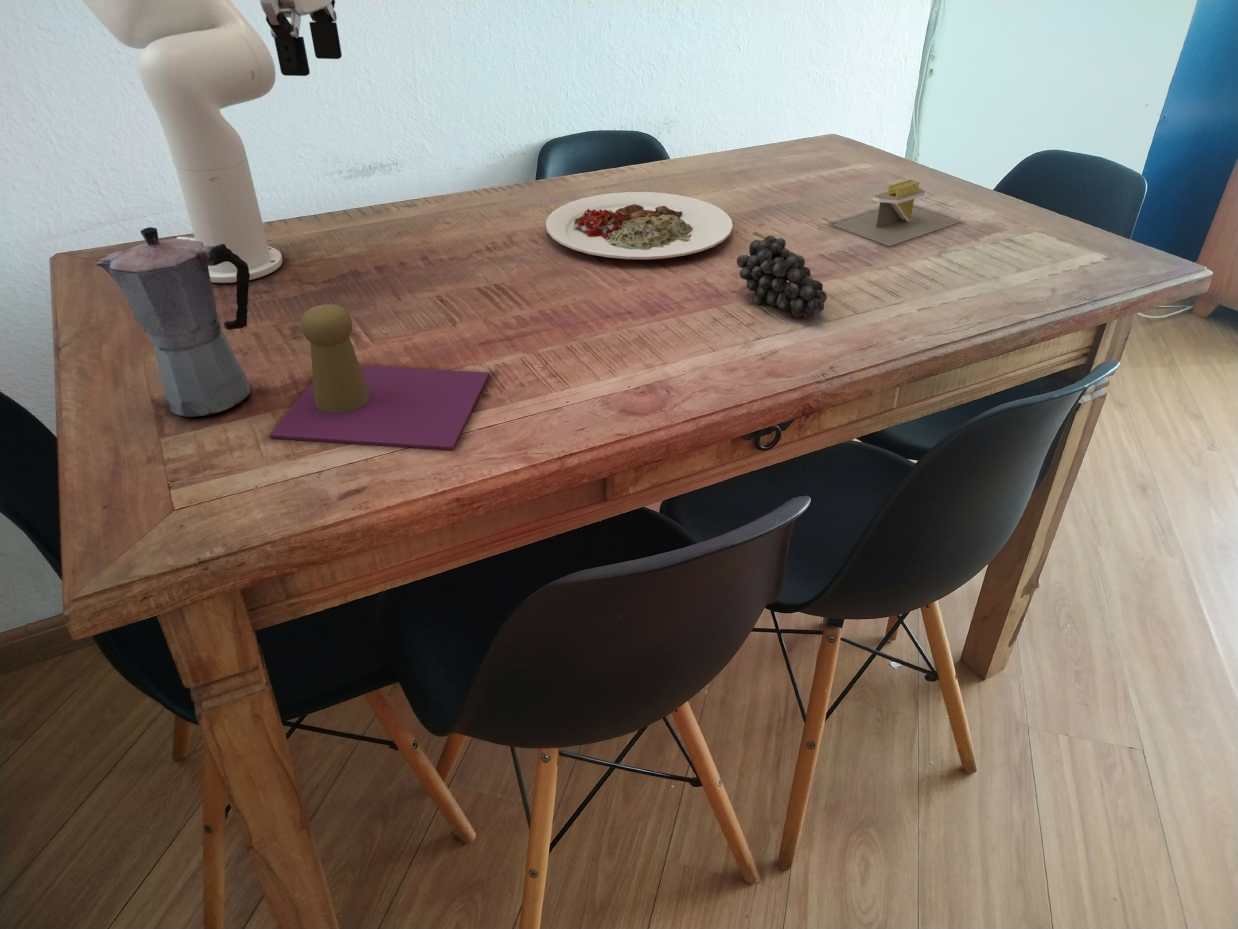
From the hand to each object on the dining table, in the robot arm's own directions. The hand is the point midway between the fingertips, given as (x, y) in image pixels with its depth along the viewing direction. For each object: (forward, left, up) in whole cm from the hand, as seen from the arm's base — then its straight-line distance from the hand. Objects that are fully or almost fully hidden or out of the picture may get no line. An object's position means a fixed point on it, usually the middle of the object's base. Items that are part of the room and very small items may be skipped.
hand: (313, 66), depth 105 cm
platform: (+78, +40, -31) cm, 93 cm away
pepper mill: (+8, -26, -30) cm, 40 cm away
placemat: (+13, -26, -30) cm, 42 cm away
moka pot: (-7, -27, -31) cm, 41 cm away
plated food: (+36, +31, -31) cm, 56 cm away
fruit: (+58, +5, -31) cm, 66 cm away
